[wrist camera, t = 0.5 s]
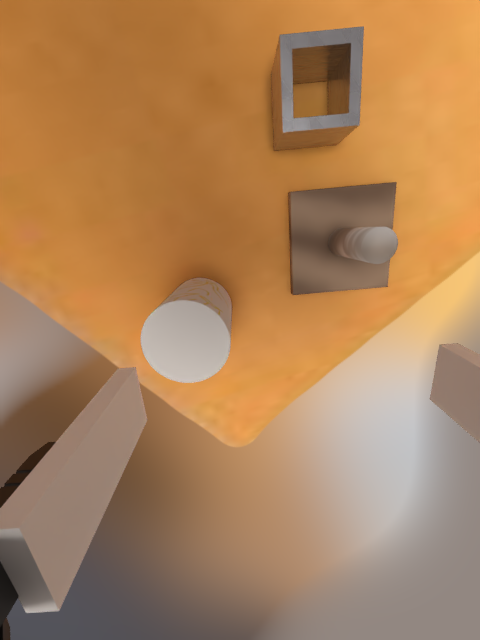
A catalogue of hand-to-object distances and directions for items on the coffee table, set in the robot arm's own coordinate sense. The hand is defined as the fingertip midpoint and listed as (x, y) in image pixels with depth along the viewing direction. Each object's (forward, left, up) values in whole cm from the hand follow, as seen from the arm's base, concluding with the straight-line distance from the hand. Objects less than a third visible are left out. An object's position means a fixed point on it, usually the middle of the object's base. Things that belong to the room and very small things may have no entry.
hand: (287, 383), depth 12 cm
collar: (-18, +7, -24) cm, 31 cm away
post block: (-4, +11, -24) cm, 27 cm away
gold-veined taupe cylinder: (+3, -7, -25) cm, 26 cm away
